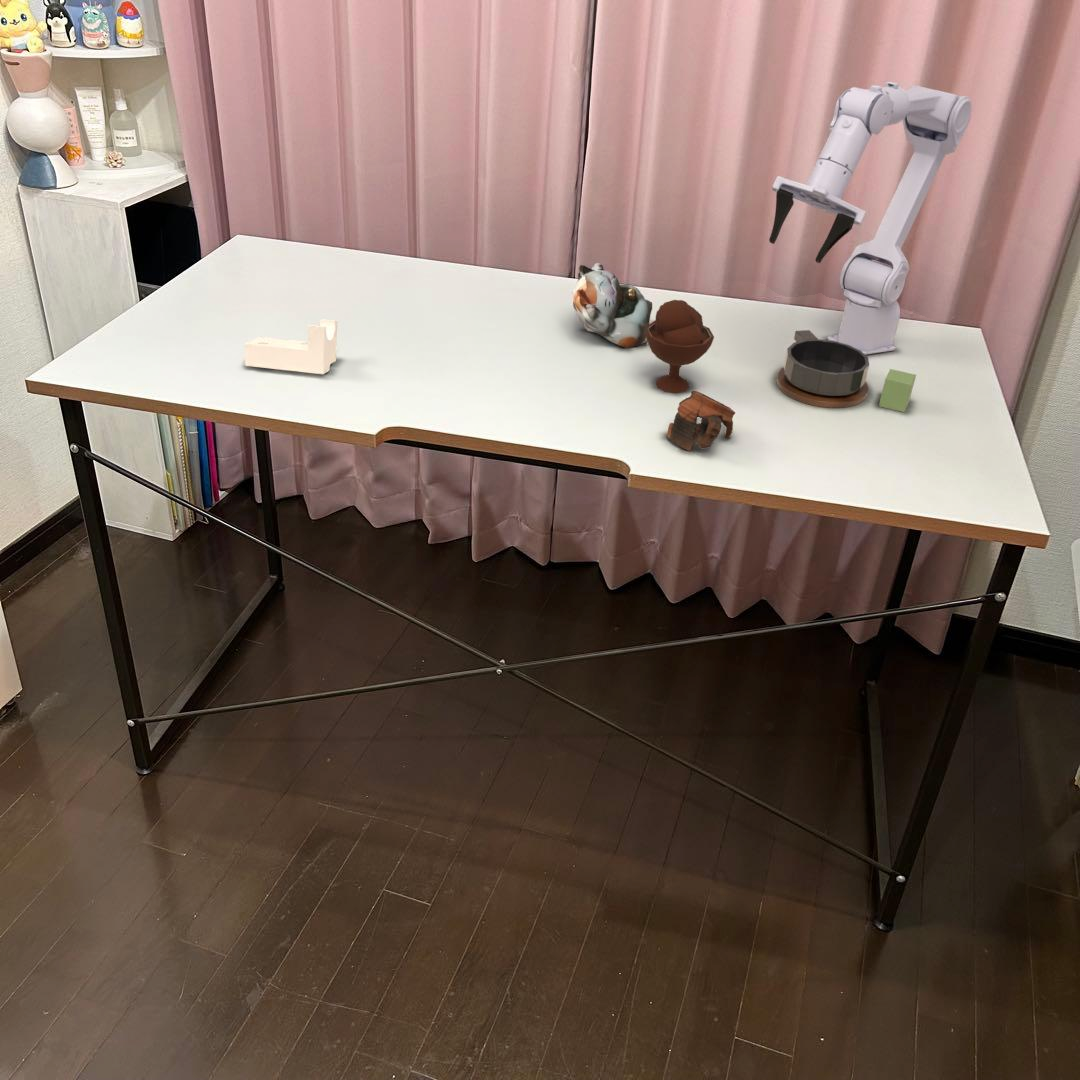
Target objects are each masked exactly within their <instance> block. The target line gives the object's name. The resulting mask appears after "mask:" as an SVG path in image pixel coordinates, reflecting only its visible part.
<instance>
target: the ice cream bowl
mask: <svg viewBox="0 0 1080 1080" xmlns="http://www.w3.org/2000/svg"><path fill="white" fill-rule="evenodd" d="M645 333H646V338H647V344H648V347H649V348H650V350H651V353H652V354H653V355H654V356H655V357H656V358H657V359H659V360H660V361H662V362H663V363H666V364H668V366H669V369H668V373H667V374H665V375H662V376H660V377H658V379H657V380H656V381H655V385H656V387H657V389H659V390H661V391H663V392H665V393H672V394H680V393H685V392H687V391H688V390H689V389H690V383H689V382H688V380H687V379H686V378H684V377H682V376H681V375H680V374H681V368H682V366H688V365H690V364H693V363H695V362H696V361H699V359H700V358H702V356H704V355H705V354H706V353H707V352H708V351H709V350H710V348H711V346H712V344H713V342H714V339H715V336H714V334H713V332H712V331H711V329H710V327H708V326H705V325H704V322H703V315H702V314H701V313H700V312H699V311H698V310H697V309H695V308H694V307H692V306H691V305H690V304H689V303H688V302H687V301H686V300H683V299H680V300H679V299H671V300H669V301H666V302H664V303H662V304H661V305H660V306H659V308H658V310H657V311H656V314H655V320H653V321H652V322H651V323H649V325H648V326H647V327H646V328H645Z"/></svg>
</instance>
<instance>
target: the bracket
mask: <svg viewBox="0 0 1080 1080" xmlns="http://www.w3.org/2000/svg"><path fill="white" fill-rule="evenodd" d="M337 341H338V320H335V319H325V318H321V319H320V320H319V325H318V324H308V326H307V341H302V340H294V339H293V340H292V339H285V338H284V339H283V338H275V337H265V336H259V337H257V338H254V339H252V340H249V341H247V342H246V343H244V366H246V367H254V368H255V367H256V368H263V369H264V368H265V369H272V370H273V369H274V370H281V371H290V372H299V373H308V374H317V375H324V374H327V373H328V372H330V371H331V365H332V364H333V363H335V362H336V361H337V349H338V348H337V346H338V345H337V344H338V342H337Z"/></svg>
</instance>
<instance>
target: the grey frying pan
mask: <svg viewBox="0 0 1080 1080" xmlns="http://www.w3.org/2000/svg"><path fill="white" fill-rule="evenodd" d="M793 340H794V341H795V342H792V343H791V344H790V345H789V347H787V348H786V354H785V360H784V363H783V364H784V365H783V367H784V374H785V377H786V378H787V380H788V381H789V382H790V383H792V384H793V385H794V386H796V387H798V388H800V389H802V390H805V391H808V392H811V393H815V394H820V395H828V396H842V395H849V394H852V393H855V392H857V391H858V390H860V389H861V387H862V386H863V385H864V383H865V381H866V380H867V375H868V371H869V367H870V360H869V357H868V356H867V355H865V354H864V353H863V352H862V351H860V350H858V349H856V348H854V347H852V346H850V345H847V344H843V343H840V342H836V341H830V340H828V339H820V338H818V337H817V336H816V335H815V334H814V333H813V332H812V331H811V330H810V329H806V330H805V329H804V330H803V329H802V330H795V331H794V337H793ZM866 382H867V381H866Z"/></svg>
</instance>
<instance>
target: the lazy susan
mask: <svg viewBox="0 0 1080 1080" xmlns="http://www.w3.org/2000/svg"><path fill="white" fill-rule="evenodd" d="M776 386H777V387H778V389H779V390H780V391H781V392H782V393H783V394H785V395H786V396H787V397H790V399H793V400H795V401H798V402H800V403H802V404H803V403H804V404H806V405H810V406H814V407H819V408H828V409H829V408H831V409H841V408H849V407H853V406H856V405H859V404H861V403H862V402H864V401H865V400H866V399H867V396H868V393H869V385H868V383H867V381H865V383H864V385H863V386H862V387H861V389H860V390H858V391H857V392H855V393H852V394H849V395H842V396H828V395H820V394H815V393H811V392H808V391H805V390H802V389H800V388H798V387H796V386H794V385H793V384H792V383H790V382H789V381H788V380H787V378H786V377H785V374H784V366H783V367H781V368H780V370H779V371H778V372H777V375H776Z"/></svg>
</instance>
